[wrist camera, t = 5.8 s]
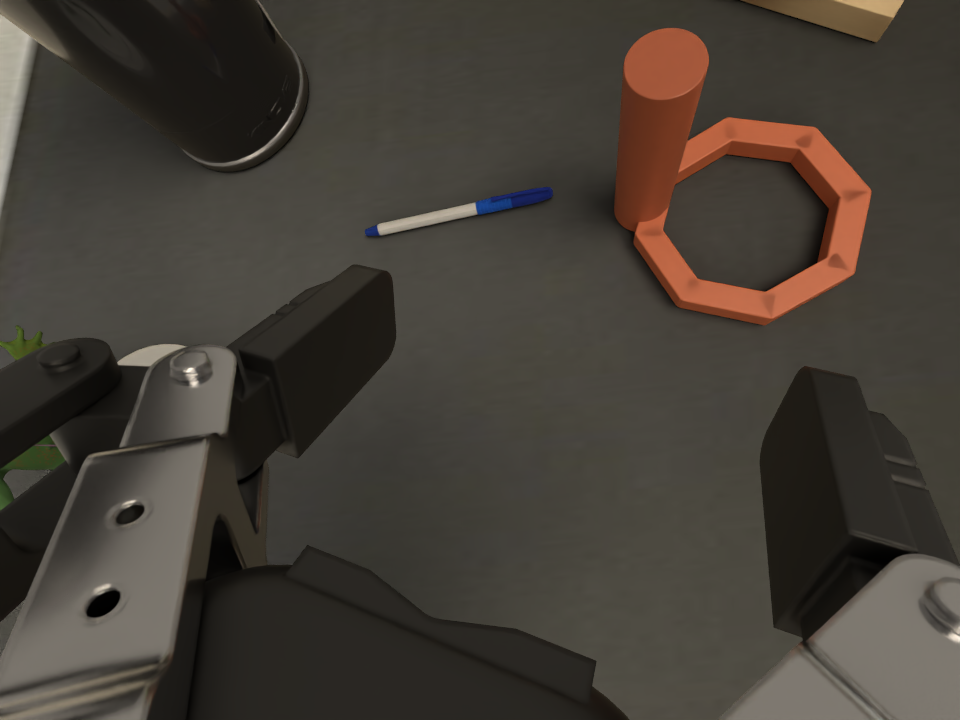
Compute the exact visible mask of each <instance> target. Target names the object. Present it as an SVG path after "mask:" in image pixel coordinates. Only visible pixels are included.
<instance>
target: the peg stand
mask: <svg viewBox="0 0 960 720" xmlns="http://www.w3.org/2000/svg"><path fill="white" fill-rule="evenodd" d="M740 1H744V2H747V3H750V4H753V5H757V6H760V7H763V8H766V9H770V10H773V11H776V12H779V13H783V14H786V15H789V16H792V17H795V18H799V19H802V20H805V21H808V22H812V23H815V24H818V25H821V26H825V27H828V28H831V29H834V30H838V31H841V32H844V33H847V34H851V35H854V36H857V37H860V38H863V39H867V40H870V41H873V42H878V40H879V39H880V37H881V36H882V34H883V33H884V31H885V30H886V28H887V27H888V25H889V24H890V22H891V21H892V20H893V18H894V16H895V15H896V13H897V11H898V10H899V8H900V6H901V5H902V3H903V1H904V0H740Z"/></svg>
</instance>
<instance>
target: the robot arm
mask: <svg viewBox="0 0 960 720" xmlns="http://www.w3.org/2000/svg"><path fill="white" fill-rule="evenodd" d="M257 1H258V0H257ZM258 3H259V4H260V2H259V1H258ZM260 6H261V8H262V9H263V11H264V12H263V11H262V10H261V8H260V7H259V5H258V4H257V3H256V1H255V0H0V14H1V15H2V16H4V17H5V18H6V19H8V20H9V21H10V22H12V23H13V24H15V25H16V26H17V27H19V28H20V29H21V30H23V31H24V32H25V33H27V34H28V35H29V36H31V37H32V38H33V39H35V40H36V41H37V42H39V43H40V44H42V45H43V46H44V47H46V48H47V49H48V50H50V51H51V52H52V53H54V54H55V55H56V56H58V57H59V58H60V59H62V60H63V61H64V62H66V63H67V64H68V65H70V66H71V67H73V68H74V69H75V70H77V71H78V72H79V73H81V74H82V75H83V76H85V77H86V78H87V79H89V80H90V81H91V82H93V83H94V84H95V85H97V86H98V87H100V88H101V89H102V90H104V91H105V92H106V93H108V94H109V95H110V96H112V97H113V98H114V99H116V100H117V101H118V102H120V103H121V104H122V105H124V106H125V107H126V108H128V109H129V110H131V111H132V112H133V113H135V114H136V115H137V116H139V117H140V118H141V119H143V120H144V121H145V122H146V123H148V124H149V125H150V126H152V127H153V128H154V129H156V130H157V131H158V132H160V133H161V134H163V135H164V136H165V137H167V138H168V139H169V140H171V141H172V142H173V143H175V144H176V145H177V146H179V147H180V148H181V149H182V150H183V151H184V152H185V153H186V154H187V155H188V156H190V157H191V158H192V159H194V160H195V161H196V162H198V163H199V164H201V165H202V166H204V167H206V168H209V169H212V170H216V171H223V172H232V171H239V170H244V169H247V168H250V167H252V166H255V165H257V164H259V163H261V162H263V161H265V160H266V159H268V158H269V157H271V156H272V155H273V154H275V153H276V152H277V151H278V150H279V149H280V148H281V147H282V146H283V145H284V144H285V143H286V142H287V141H288V140H289V139H290V137H291V136H292V135H293V133H294V132H295V130H296V128H297V127H298V125H299V123H300V121H301V119H302V117H303V114H304V112H305V108H306V105H307V100H308V92H309V84H308V77H307V72H306V69H305V67H304V64H303V62H302V61H301V59H300V58H299V56H298V55H297V54H296V52H295V51H294V50H293V48H292V47H291V46H290V45H289V43H288V42H287V41H285V40H284V39H283V38H282V37H281V35H280V33H279V32H278V30H277V28H276V27H275V25H274V23H273V22H272V20H271V18H270V17H269V15H268V14H267V12H266V10H265V9H264V8H263V6H262V5H261V4H260ZM264 13H265V14H266V15H265V14H264ZM395 340H396V324H395V309H394V294H393V281H392V277H391V275H390V274H389V273H388V272H387V271H383V270H379V269H374V268H370V267H365V266H361V265H352V266H350V267H349V268H347V269H346V270H345V271H343V272H342V273H341V274H339V275H338V276H337V277H335V278H334V279H332V280H331V281H328V282H325V283H323V284H320V285H317V286H315V287H312V288H309V289H307V290H305V291H304V292H302V293H301V294H299V295H298V296H297V297H295V298H294V299H292V300H291V301H290V303H289V304H285V305H284V306H283V307H281V308H280V309H278V310H277V311H276V314H272V315H270V316H269V317H267V318H266V319H265V320H263V321H262V322H260V323H259V324H258V325H256V326H255V327H253V328H252V329H251V330H249V331H248V332H246V333H245V334H244V335H242V336H241V337H239V338H238V339H237V340H235V341H234V342H232V343H231V344H230V345H228V346H227V347H223V346H219V345H212V344H203V345H194V346H189V347H184V348H181V349H178V350H175V351H173V352H170V353H168V354H166V355H164V356H163V357H161V358H160V359H158V360H157V361H155V362H154V363H153V364H152V365H151V366H131V365H118V363H117V361H116V359H115V357H114V355H113V353H112V351H111V349H110V347H109V345H108V344H107V343H106V342H104V341H102V340H99V339H94V338H75V339H68V340H63V341H59V342H55V343H52V344H49V345H46V346H44V347H41V348H39V349H37V350H35V351H33V352H31V353H29V354H27V355H25V356H24V357H22V358H20V359H18V360H16V361H15V362H13V363H11V364H9V365H7V366H6V367H4V368H2V369H0V469H1V468H3V467H4V466H6V465H7V464H8V463H10V462H11V461H13V460H14V459H15V458H17V457H18V456H20V455H21V454H23V453H24V452H25V451H27V450H28V449H30V448H31V447H32V446H34V445H35V444H37V443H38V442H40V441H41V440H42V439H44V438H45V437H47V436H48V435H50V437H51V438H52V440H53V441H54V443H55V444H56V446H57V447H58V449H59V451H60V452H61V454H62V455H63V457H64V458H65V461H64V462H63V463H62V464H60V465H59V466H58V467H56V468H55V469H54V470H52V471H51V472H50V473H49V474H47V475H46V476H45V477H43V478H42V479H41V480H39V481H38V482H37V483H35V484H34V485H33V486H32V487H30V488H29V489H28V490H26V491H25V492H24V493H22V494H21V495H20V496H19V497H17V498H16V499H15V500H13V501H12V502H11V503H9V504H8V505H7V506H5V507H4V508H3V509H2V510H0V622H1V621H2V620H3V619H4V618H5V617H6V616H7V615H8V614H9V613H10V612H11V611H13V610H14V609H15V608H16V607H17V606H18V605H19V604H20V603H21V602H22V601H23V600H24V599H25V598H26V599H25V601H24V604H23V606H22V608H21V611H20V613H19V615H18V618H17V620H16V622H15V625H14V627H13V630H12V632H11V634H10V637H9V639H8V641H7V644H6V646H5V648H4V651H3V653H2V655H1V658H0V720H629V719H628V717H627V716H626V715H625V714H624V713H623V712H622V711H621V710H620V709H619V708H618V707H616V706H615V705H614V704H613V703H612V702H611V701H610V700H609V699H608V698H607V697H606V696H604V695H603V694H602V693H600V692H599V691H598V690H596V689H595V688H594V687H592V683H593V677H594V672H595V666H596V661H595V660H593V659H590V658H588V657H585V656H583V655H580V654H578V653H575V652H573V651H570V650H568V649H565V648H563V647H560V646H558V645H555V644H553V643H550V642H548V641H545V640H543V639H540V638H538V637H535V636H533V635H530V634H528V633H525V632H523V631H520V630H518V629H513V628H505V627H497V626H489V625H481V624H473V623H465V622H457V621H449V620H441V619H436V618H433V617H430V616H428V615H427V614H425V613H424V612H422V611H421V610H420V609H419V608H417V607H416V606H415V605H414V604H412V603H411V602H410V601H409V600H407V599H406V598H405V597H403V596H402V595H401V594H400V593H398V592H397V591H396V590H395V589H393V588H392V587H391V586H389V585H388V584H387V583H386V582H384V581H383V580H382V579H381V578H379V577H378V576H377V575H376V574H374V573H373V572H372V571H370V570H368V569H366V568H363V567H361V566H358V565H356V564H353V563H351V562H348V561H346V560H343V559H341V558H338V557H336V556H333V555H331V554H328V553H326V552H324V551H321V550H319V549H316V548H314V547H311V546H309V545H307V546H306V548H305V549H304V550H303V552H302V553H301V554H300V556H299V557H298V558H297V560H296V561H295V562H294V564H293V565H268V564H267V556H266V533H267V511H268V488H269V465H268V462H267V458H268V457H269V456H270V455H271V454H272V453H273V452H274V451H275V450H276V451H279V452H281V453H284V454H287V455H290V456H293V457H296V458H299V457H300V456H301V455H302V454H303V453H304V451H305V450H306V449H307V448H308V447H309V446H310V445H311V444H312V443H313V442H314V440H315V439H316V438H317V437H318V436H319V435H320V434H321V433H322V432H323V430H324V429H325V428H326V427H327V426H328V425H329V424H330V423H331V422H332V421H333V419H334V418H335V417H336V416H337V415H338V414H339V413H340V412H341V411H342V410H343V408H344V407H345V406H346V405H347V404H348V403H349V402H350V401H351V400H352V399H353V397H354V396H355V395H356V394H357V393H358V392H359V391H360V390H361V389H362V387H363V386H364V385H365V384H366V383H367V382H368V381H369V380H370V379H371V378H372V376H373V375H374V374H375V373H376V372H377V371H378V370H379V369H380V368H381V367H382V365H383V364H384V363H385V362H386V361H387V360H388V359H389V357H390V355H391V353H392V351H393V348H394V345H395ZM916 465H917V462H916V459H915V457H914V455H913V452H912V450H911V448H910V445H909V443H908V440H907V438H906V437H905V436H904V435H903V434H902V433H901V432H900V431H899V430H898V429H897V428H896V427H895V426H894V425H893V424H892V423H891V422H890V421H889V420H888V418H887V417H886V416H885V415H884V414H881V413H877V412H873V411H868V408H867V405H866V403H865V400H864V397H863V394H862V391H861V388H860V386H859V383H858V381H857V379H856V378H855V377H852V376H848V375H843V374H839V373H834V372H830V371H825V370H821V369H816V368H812V367H807V366H804V367H803V368H801V369H800V370H799V371H798V373H797V374H796V376H795V378H794V380H793V382H792V384H791V385H790V387H789V389H788V391H787V393H786V395H785V397H784V399H783V401H782V403H781V405H780V407H779V408H778V410H777V412H776V414H775V416H774V418H773V420H772V422H771V424H770V426H769V428H768V430H767V432H766V434H765V437H764V440H763V443H762V448H761V453H760V472H761V483H762V495H763V507H764V519H765V531H766V542H767V554H768V566H769V578H770V590H771V601H772V613H773V625H774V628H777V629H780V630H783V631H785V632H788V633H791V634H794V635H797V636H800V637H802V638H803V641H802V642H800V643H799V644H798V645H797V646H796V647H794V648H793V649H792V650H791V651H790V652H789V653H788V654H787V655H786V656H785V657H784V658H782V659H781V660H780V661H779V662H778V663H777V664H776V665H775V666H774V667H773V668H772V669H771V670H770V671H768V672H767V673H766V674H765V675H764V676H763V677H762V678H761V679H760V680H759V681H758V682H757V683H756V684H755V685H753V686H752V687H751V688H750V689H749V690H748V691H747V692H746V693H745V694H744V695H743V696H742V697H741V698H740V699H738V700H737V701H736V702H735V703H734V704H733V705H732V706H731V707H730V708H729V709H728V710H727V711H726V712H725V713H723V714H722V715H721V716H720V717H719V718H718V719H717V720H960V564H959V562H958V560H957V557H956V555H955V552H954V550H953V548H952V545H951V543H950V540H949V538H948V536H947V533H946V531H945V529H944V526H943V524H942V521H941V519H940V517H939V514H938V512H937V509H936V507H935V505H934V502H933V500H932V498H931V495H930V493H929V490H926V489H925V486H926V483H925V481H924V479H923V476H922V474H921V471H920V469H919V468H916Z"/></svg>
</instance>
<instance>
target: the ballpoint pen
mask: <svg viewBox="0 0 960 720" xmlns="http://www.w3.org/2000/svg"><path fill="white" fill-rule="evenodd" d="M552 196H553V191H552V189H551V188H550V187H543V188H535V189H530V190H525V191H520V192H515V193H511V194H506V195H502V196H496V197H491V198H489V199H488V200H487V199H485V200H481V201H477V202H476V203H471V204H467V205H462V206H458V207H453V208H449V209H444V210H440V211H435V212H431V213H426V214H422V215H417V216H413V217H408V218H404V219H399V220H395V221H390V222H386V223H381V224H378V225H375V226H373V227H370V228H368V229H366V230H365V234H366V236H381V235H386V234H390V233H395V232H399V231H404V230H409V229H413V228H418V227H422V226H427V225H432V224H436V223H441V222H445V221H450V220H455V219H459V218H464V217H468V216H473V215H479V214H480V215H482V214H486V213H490V212H491V213H492V212H493V211H495V212H496V211H497V210H498V211H500V210H504V209H508V208H509V209H510V208H511V207H513V208H515V207H519V206H524V205H529V204H533V203H537V202H540V201H544V200H547V199H550V198H551V197H552Z"/></svg>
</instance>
